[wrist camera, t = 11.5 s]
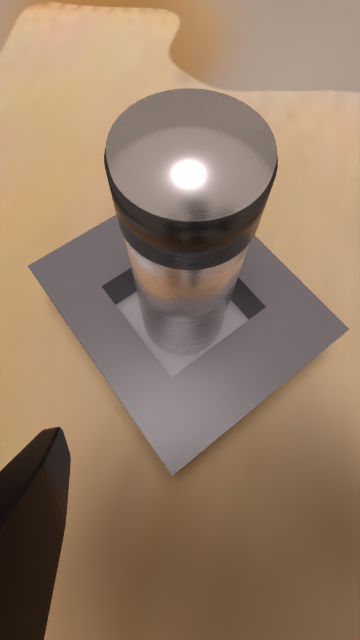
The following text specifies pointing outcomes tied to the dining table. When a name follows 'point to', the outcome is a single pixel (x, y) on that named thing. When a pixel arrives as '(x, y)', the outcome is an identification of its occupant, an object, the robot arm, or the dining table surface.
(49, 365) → the dining table surface
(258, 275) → the square plate with hole
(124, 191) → the shiny metal cylinder
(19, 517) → the robot arm
